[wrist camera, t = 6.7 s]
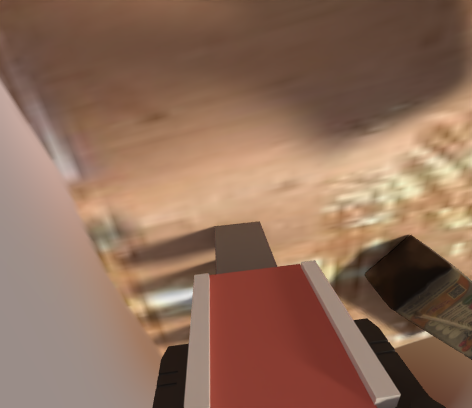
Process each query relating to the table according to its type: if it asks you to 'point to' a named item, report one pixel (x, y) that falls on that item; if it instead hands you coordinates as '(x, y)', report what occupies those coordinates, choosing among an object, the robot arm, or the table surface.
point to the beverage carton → (426, 292)
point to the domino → (242, 248)
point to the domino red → (276, 345)
